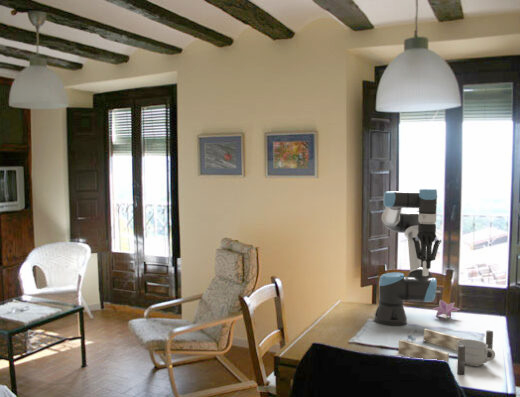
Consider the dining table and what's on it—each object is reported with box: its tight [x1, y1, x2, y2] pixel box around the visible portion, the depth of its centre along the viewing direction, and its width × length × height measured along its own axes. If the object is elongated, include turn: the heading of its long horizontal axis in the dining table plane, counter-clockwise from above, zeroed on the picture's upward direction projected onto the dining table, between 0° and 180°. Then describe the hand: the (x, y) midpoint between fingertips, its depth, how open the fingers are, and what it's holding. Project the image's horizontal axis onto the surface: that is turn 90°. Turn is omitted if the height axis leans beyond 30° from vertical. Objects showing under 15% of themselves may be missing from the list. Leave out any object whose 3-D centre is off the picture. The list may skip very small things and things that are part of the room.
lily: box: [432, 299, 461, 322], centre depth 241 cm, size 12×12×10 cm
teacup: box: [456, 338, 496, 367], centre depth 183 cm, size 14×11×8 cm
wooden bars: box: [397, 328, 494, 376], centre depth 192 cm, size 27×27×10 cm
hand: (425, 275), depth 217 cm, fingers closed
